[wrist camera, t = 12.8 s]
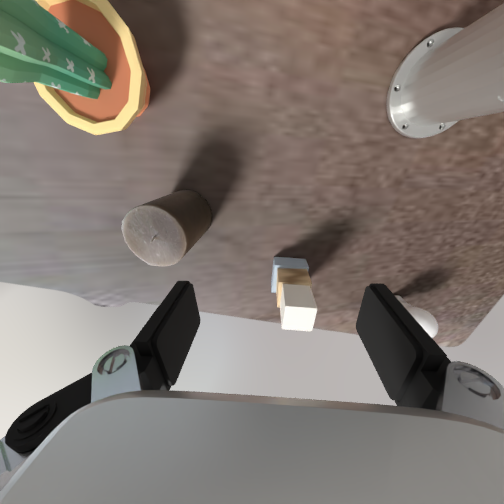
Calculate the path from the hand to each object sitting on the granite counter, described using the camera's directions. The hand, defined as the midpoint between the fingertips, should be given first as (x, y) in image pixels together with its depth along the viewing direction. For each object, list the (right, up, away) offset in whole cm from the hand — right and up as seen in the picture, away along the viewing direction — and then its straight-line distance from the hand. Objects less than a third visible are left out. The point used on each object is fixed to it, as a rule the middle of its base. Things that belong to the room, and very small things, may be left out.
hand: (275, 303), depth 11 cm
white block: (+7, -5, +26) cm, 28 cm away
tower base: (+7, -1, +34) cm, 35 cm away
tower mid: (+7, -3, +31) cm, 32 cm away
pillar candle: (-14, +11, +30) cm, 35 cm away
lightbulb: (+32, -8, +36) cm, 49 cm away
